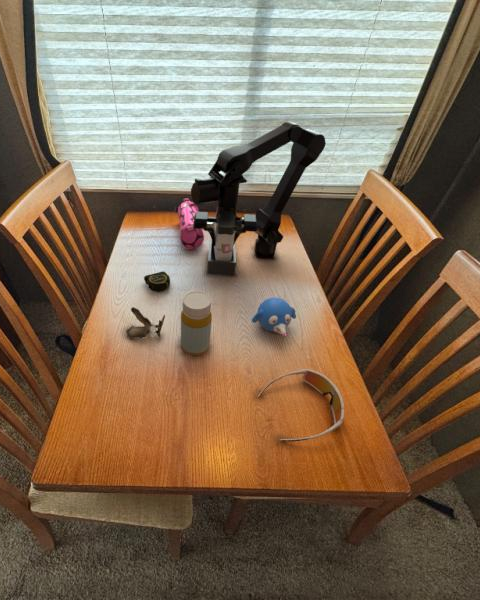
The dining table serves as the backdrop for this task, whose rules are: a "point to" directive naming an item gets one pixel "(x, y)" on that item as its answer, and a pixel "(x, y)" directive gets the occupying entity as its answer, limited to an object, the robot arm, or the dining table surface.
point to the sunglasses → (324, 388)
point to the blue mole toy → (275, 315)
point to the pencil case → (189, 225)
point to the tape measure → (158, 281)
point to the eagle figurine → (148, 328)
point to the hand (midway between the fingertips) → (223, 246)
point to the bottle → (196, 322)
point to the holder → (221, 263)
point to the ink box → (223, 246)
